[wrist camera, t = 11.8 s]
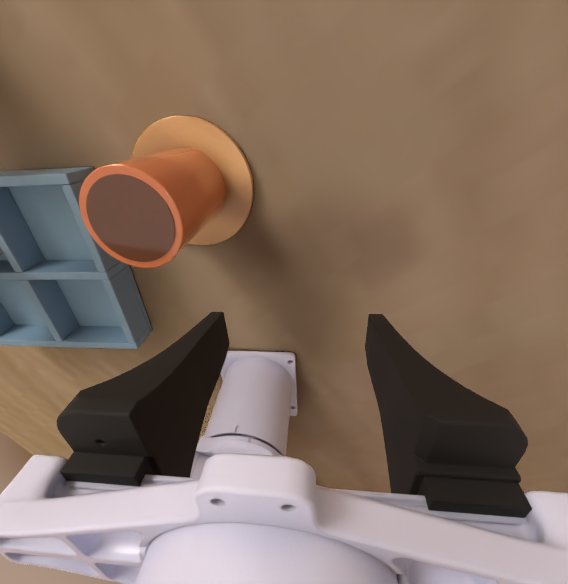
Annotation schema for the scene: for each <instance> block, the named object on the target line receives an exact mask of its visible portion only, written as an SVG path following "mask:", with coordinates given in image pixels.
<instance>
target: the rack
mask: <svg viewBox="0 0 568 584" xmlns="http://www.w3.org/2000/svg"><path fill="white" fill-rule="evenodd" d="M94 170H95V169H94V167H77V168H55V169H33V170H11V171H0V247H1V249H2V251H3V252H4V254H2V255H0V345H10V346H47V347H84V348H121V349H138V348H139V347H140V345H141V344H142V343H143V341H144V340H145V339H146V337H147V336H148V335H149V333H150V332H151V331H152V327H151V324H150V321H149V319H148V316H147V313H146V310H145V307H144V305H143V302H142V299H141V296H140V294H139V291H138V288H137V285H136V283H135V280H134V277H133V274H132V272H131V269H130V266H129V265H128V264H126V263H123V262H121V261H119V260H117V259H115V258H114V257H112V256H111V255H109V254H108V253H107V252H106V251H104V250H103V249H102V248H101V247H100V246H99V245H98V244H97V243H96V241H95V240H94V239H93V238H92V236H91V235H90V233H89V232H88V230H87V228H86V226H85V224H84V222H83V219H82V216H81V212H80V206H79V195H80V190H81V187H82V184H83V182H84V181H85V179H86V178H87V176H88V175H89V174H90V173H91V172H93V171H94Z"/></svg>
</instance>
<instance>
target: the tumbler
mask: <svg viewBox="0 0 568 584" xmlns="http://www.w3.org/2000/svg"><path fill="white" fill-rule="evenodd" d="M225 196H226V188H225V182H224V179H223V176H222V174H221V171H220V170H219V168H218V166H217V165H216V164H215V163H214V161H213V160H212V159H211V158H209V157H208V156H207V155H206V154H204V153H202V152H201V151H198V150H196V149H193V148H188V147H180V148H174V149H170V150H166V151H162V152H158V153H154V154H150V155H146V156H142V157H137V158H133V159H129V160H125V161H121V162H117V163H113V164H109V165H105V166H102V167H99V168H97V169H95V170H94V171H93V172H91V173H90V174H89V175H88V176H87V178H86V179H85V181H84V182H83V184H82V187H81V190H80V195H79V206H80V212H81V216H82V219H83V222H84V224H85V226H86V228H87V230H88V232H89V233H90V235H91V236H92V238H93V239H94V240H95V241H96V243H97V244H98V245H99V246H100V247H101V248H102V249H103V250H104V251H106V252H107V253H108V254H109V255H111V256H112V257H114V258H115V259H117V260H119V261H121V262H123V263H126V264H128V265H131V266H135V267H140V268H153V267H158V266H161V265H164V264H166V263H168V262H169V261H170V260H172V259H173V258H174V257H175V256H176V255H177V254H178V253H179V252H180V251H181V250H182V249H183V248H184V247H185V246H186V245H187V244H188V243H189V242H190V241H191V240H192V239H193V238H194V237H195V236H196V235H197V234H198V233H199V232H200V231H201V230H202V229H203V228H204V227H205V226H206V225H207V224H208V223H209V222H210V221H211V220H212V219H213V218H214V217H215V216H216V215H217V214H218V213H219V211H220V210H221V208H222V206H223V204H224V201H225Z"/></svg>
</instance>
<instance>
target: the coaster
mask: <svg viewBox="0 0 568 584" xmlns="http://www.w3.org/2000/svg"><path fill="white" fill-rule="evenodd" d="M180 147H188V148H193V149H196V150H198V151H201V152H202V153H204V154H206V155H207V156H208V157H209V158H211V159H212V160H213V161H214V163H215V164H216V165H217V166H218V168H219V170H220V171H221V174H222V176H223V179H224V182H225V188H226V196H225V201H224V204H223V206H222V208H221V210H220V211H219V213H218V214H217V215H216V216H215V217H214V218H213V219H212V220H211V221H210V222H209V223H208V224H207V225H206V226H205V227H204V228H203V229H202V230H201V231H200V232H199V233H198V234H197V235H196V236H195V237H194V238H193V239H192V240H191V241H190V242H189V243H188V244H193V245H213V244H217V243H220V242H223V241H225V240H227V239H229V238H230V237H232V236H233V235H234V234H236V233H237V232H238V231H239V230H240V229H241V227H242V226H243V224H244V223H245V222H246V220H247V218H248V216H249V214H250V211H251V208H252V203H253V196H254V186H253V179H252V174H251V170H250V167H249V165H248V162H247V160H246V158H245V156H244V154H243V152H242V151H241V149H240V148H239V147H238V145H237V144H236V142H235V141H234V140H233V139H232V138H231V137H230V136H229V135H228V134H227V133H225V132H224V131H223V130H222V129H220V128H219V127H217V126H216V125H214V124H212V123H210V122H208V121H206V120H204V119H201V118H197V117H192V116H171V117H167V118H164V119H161V120H159V121H157V122H155V123H153V124H152V125H151V126H149V127H148V128H147V129H146V130H145V131H144V132H143V133H142V134H141V136H140V137H139V139H138V141H137V143H136V145H135V147H134V150H133V154H132V159H133V158H137V157H142V156H146V155H150V154H154V153H158V152H162V151H166V150H170V149H174V148H180Z"/></svg>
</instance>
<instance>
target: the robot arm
mask: <svg viewBox="0 0 568 584" xmlns="http://www.w3.org/2000/svg"><path fill="white" fill-rule="evenodd" d="M228 347H229V339H228V334H227V328H226V323H225V318H224V313H223V312H211V313H210V314H209V315H208V316H206V317H205V318H204V319H203V320H202V321H201V322H199V323H198V324H197V325H196V326H195V327H194V328H192V329H191V330H190V331H189V332H188V333H187V334H185V335H184V336H183V337H181V338H180V339H179V340H178V341H176V342H175V343H174V344H172V345H171V346H170V347H168V348H167V349H165V350H164V351H162V352H161V353H159V354H158V355H156V356H155V357H153V358H151V359H150V360H148V361H146V362H144V363H143V364H141V365H139V366H137V367H135V368H133V369H132V370H130V371H128V372H125V373H123V374H121V375H119V376H117V377H115V378H112V379H110V380H108V381H105V382H103V383H100V384H97V385H95V386H92V387H90V388H87V389H84V390H81V391H80V392H79V393H78V394H77V395H76V397H75V398H74V399H73V400H72V401H71V402H70V404H69V405H68V406H67V407H66V408H65V409H64V411H63V412H62V413H61V414H60V415H59V417H58V419H57V427H58V430H59V431H60V433H61V435H62V436H63V437H64V439H65V440H66V441H67V443H68V444H69V445H70V447H71V448H72V450H73V451H74V452H73V454H72V455H71V457H70V458H69V459H68V460H67V459H66V458H64V457H60V456H50V455H33V456H32V457H31V459H30V460H29V461H28V462H27V463H26V465H25V466H24V467H23V468H22V469H21V471H20V472H19V473H18V474H17V475H16V477H15V478H14V479H13V480H12V482H11V483H10V484H9V485H8V486H7V487H6V489H5V490H4V491H3V492H2V494H1V495H0V554H1V555H2V556H4V557H5V558H7V559H8V560H9V561H11V562H13V563H20V564H27V565H35V566H41V567H46V568H52V569H58V570H63V571H68V572H72V573H78V574H82V575H86V576H91V577H96V578H100V579H104V580H109V581H113V582H118V583H122V584H568V493H564V492H550V491H530V492H526V493H525V494H524V493H523V491H522V489H521V487H520V485H519V484H518V482H519V483H520V481H521V477H520V475H519V474H518V472H517V470H516V468H515V466H516V465H517V463H518V462H519V460H520V459H521V457H522V456H523V454H524V453H525V451H526V448H527V446H528V440H527V437H526V435H525V434H524V432H523V431H522V429H521V427H520V426H519V424H518V423H517V421H516V420H515V418H514V417H513V416H512V414H511V413H510V412H509V410H508V409H506V408H503V407H501V406H499V405H497V404H495V403H493V402H491V401H489V400H487V399H485V398H483V397H481V396H479V395H478V394H476V393H474V392H472V391H471V390H469V389H467V388H465V387H464V386H462V385H461V384H459V383H457V382H456V381H454V380H453V379H451V378H450V377H448V376H447V375H445V374H444V373H442V372H441V371H440V370H438V369H437V368H436V367H434V366H433V365H432V364H431V363H429V362H428V361H427V360H426V359H424V358H423V357H422V356H421V355H420V354H419V353H418V352H417V351H415V350H414V349H413V348H412V347H411V346H410V345H409V344H408V343H407V342H406V341H405V339H404V338H403V337H402V336H401V335H400V334H399V333H398V332H397V331H396V330H395V329H394V327H393V326H392V325H391V324H390V323H389V322H388V320H387V319H386V318H385V317H384V316H383V315H382V314H369V318H368V327H367V335H366V343H365V350H366V358H367V365H368V369H369V373H370V376H371V380H372V384H373V388H374V391H375V395H376V399H377V403H378V406H379V411H380V416H381V422H382V428H383V435H384V441H385V448H386V455H387V463H388V471H389V478H390V487H391V493H382V492H369V491H356V490H343V489H330V488H327V487H323V486H319V485H316V474H315V472H314V470H313V468H312V467H311V466H310V465H309V464H307V463H306V462H304V461H302V460H301V459H296V458H292V457H286V449H287V437H288V426H289V416H296V415H297V413H298V408H297V385H296V363H295V354H294V353H291V352H259V351H228ZM289 360H291V361H289ZM220 373H221V376H222V380H223V383H222V385H221V388H220V391H219V394H218V397H217V400H216V403H215V405H214V408H213V411H212V414H211V417H210V420H209V423H208V425H207V428H206V431H205V434H204V437H203V436H201V437H200V440H199V443H198V439H199V435H200V432H201V428H202V424H203V420H204V417H205V413H206V410H207V406H208V403H209V400H210V398H211V395H212V393H213V390H214V388H215V385H216V383H217V380H218V378H219V375H220ZM197 443H198V446H197ZM196 447H197V448H196Z"/></svg>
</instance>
